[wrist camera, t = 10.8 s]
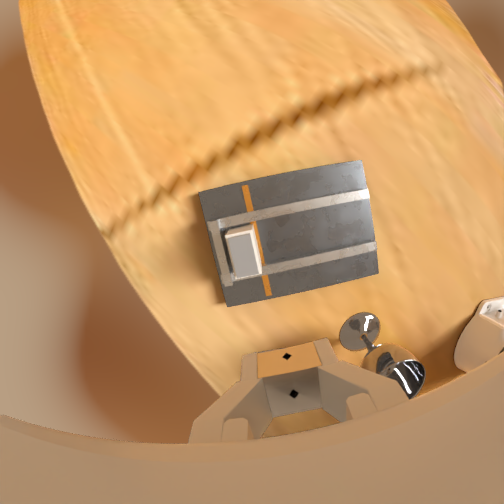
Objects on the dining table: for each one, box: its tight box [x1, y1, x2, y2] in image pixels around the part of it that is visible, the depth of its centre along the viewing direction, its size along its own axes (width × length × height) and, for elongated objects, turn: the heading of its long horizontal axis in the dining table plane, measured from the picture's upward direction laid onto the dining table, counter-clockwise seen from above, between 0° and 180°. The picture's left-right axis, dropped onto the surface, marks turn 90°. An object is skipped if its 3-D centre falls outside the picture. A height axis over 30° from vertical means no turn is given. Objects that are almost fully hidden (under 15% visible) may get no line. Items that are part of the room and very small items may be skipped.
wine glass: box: [340, 312, 426, 400], centre depth 34 cm, size 8×8×15 cm
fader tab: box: [225, 224, 262, 279], centre depth 33 cm, size 3×5×7 cm, turn 12°
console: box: [199, 160, 379, 307], centre depth 36 cm, size 22×16×5 cm
